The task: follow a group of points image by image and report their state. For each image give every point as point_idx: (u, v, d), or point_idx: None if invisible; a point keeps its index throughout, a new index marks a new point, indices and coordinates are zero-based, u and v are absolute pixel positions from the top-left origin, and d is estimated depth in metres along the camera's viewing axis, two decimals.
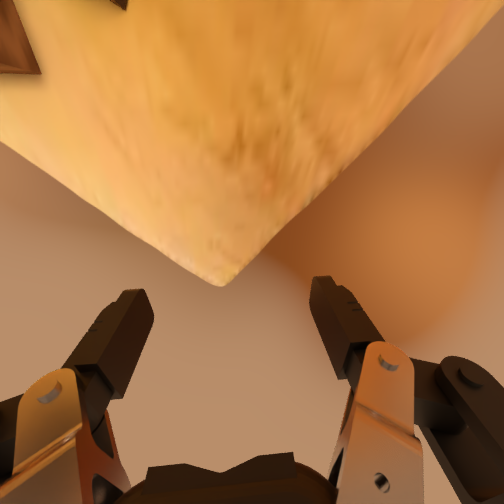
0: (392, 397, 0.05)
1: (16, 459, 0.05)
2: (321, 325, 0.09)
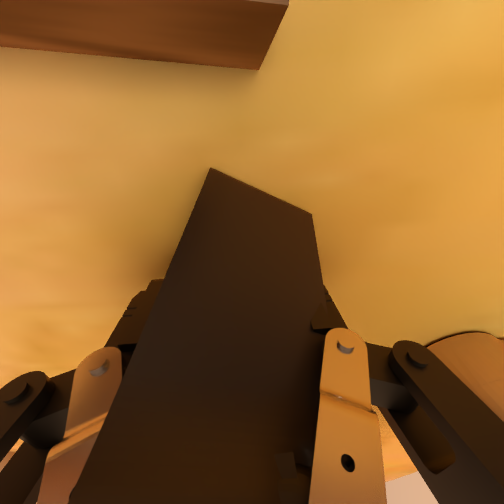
0: (351, 378, 0.06)
1: (68, 423, 0.05)
2: None
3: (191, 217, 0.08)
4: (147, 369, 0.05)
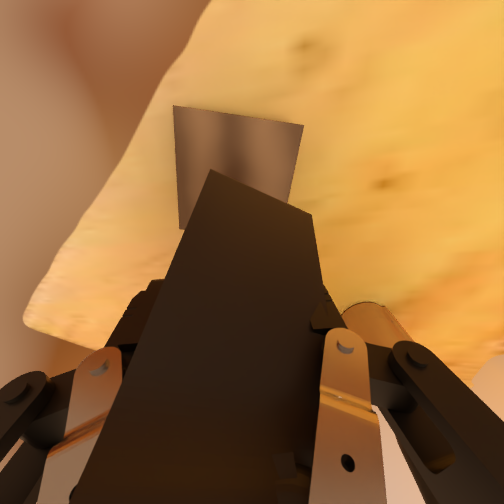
0: (351, 378, 0.06)
1: (68, 423, 0.05)
2: None
3: (191, 218, 0.08)
4: (148, 370, 0.05)
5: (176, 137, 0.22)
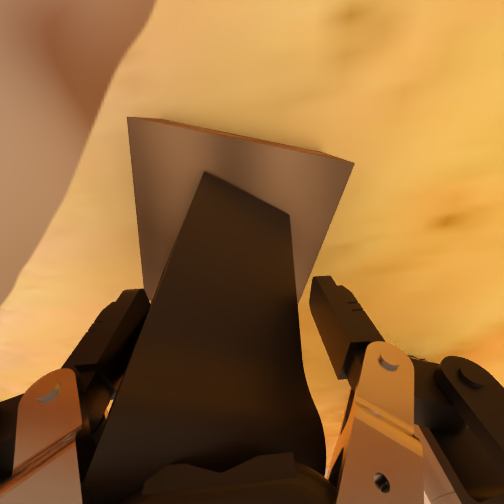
0: (392, 397, 0.05)
1: (16, 459, 0.05)
2: (321, 325, 0.09)
3: (188, 214, 0.10)
4: (159, 325, 0.06)
5: (135, 171, 0.12)
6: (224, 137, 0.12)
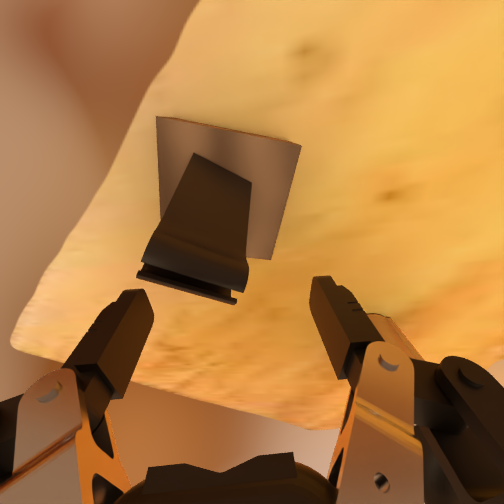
0: (392, 397, 0.05)
1: (16, 458, 0.05)
2: (321, 325, 0.09)
3: (183, 174, 0.16)
4: (169, 219, 0.13)
5: (159, 151, 0.19)
6: (216, 129, 0.19)
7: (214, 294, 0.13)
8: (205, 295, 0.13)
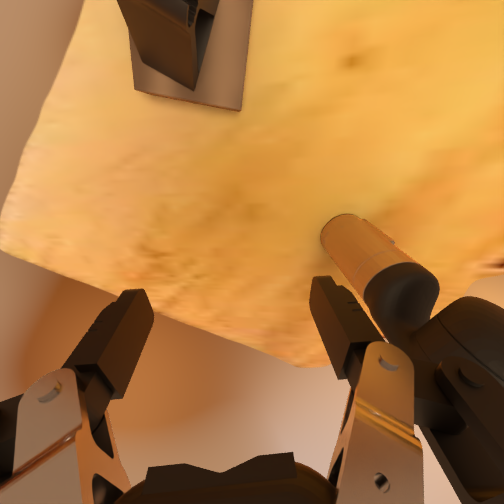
0: (392, 397, 0.05)
1: (16, 459, 0.05)
2: (321, 325, 0.09)
3: None
4: None
5: None
6: None
7: None
8: None
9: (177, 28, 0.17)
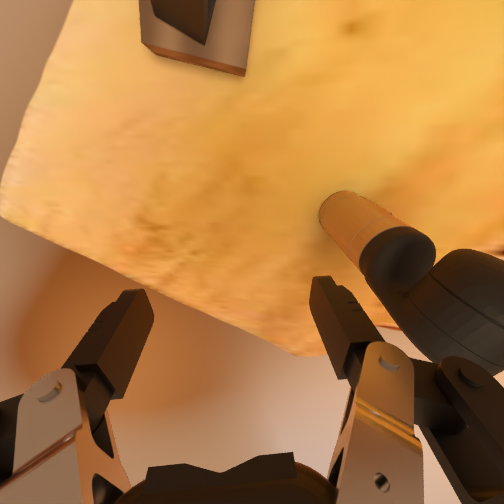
0: (392, 397, 0.05)
1: (17, 458, 0.05)
2: (321, 325, 0.09)
3: None
4: None
5: None
6: None
7: None
8: None
9: None
